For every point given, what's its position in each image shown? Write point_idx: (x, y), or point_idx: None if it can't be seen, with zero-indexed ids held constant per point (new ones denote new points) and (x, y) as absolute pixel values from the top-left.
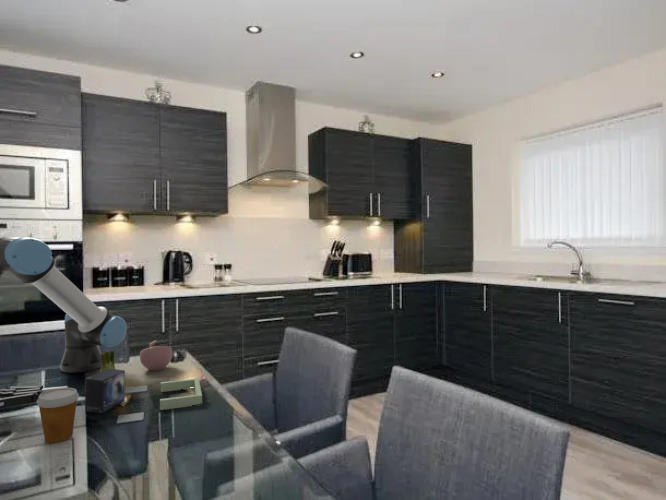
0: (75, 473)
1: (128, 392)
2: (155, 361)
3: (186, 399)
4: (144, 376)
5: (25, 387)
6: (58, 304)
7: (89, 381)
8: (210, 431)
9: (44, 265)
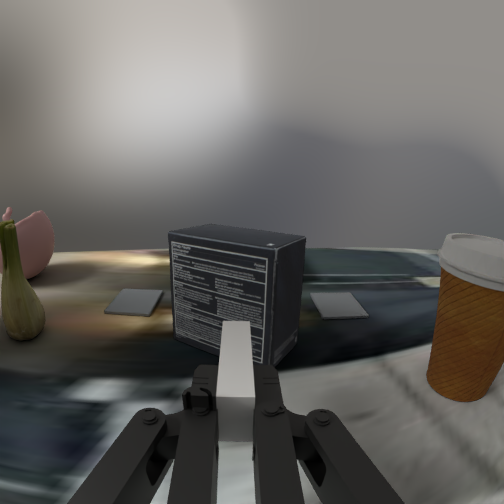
0: None
1: (149, 309)
2: (48, 248)
3: None
4: (46, 290)
5: (105, 499)
6: None
7: (286, 255)
8: (385, 258)
9: None
